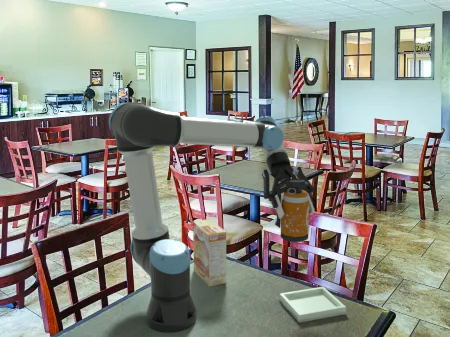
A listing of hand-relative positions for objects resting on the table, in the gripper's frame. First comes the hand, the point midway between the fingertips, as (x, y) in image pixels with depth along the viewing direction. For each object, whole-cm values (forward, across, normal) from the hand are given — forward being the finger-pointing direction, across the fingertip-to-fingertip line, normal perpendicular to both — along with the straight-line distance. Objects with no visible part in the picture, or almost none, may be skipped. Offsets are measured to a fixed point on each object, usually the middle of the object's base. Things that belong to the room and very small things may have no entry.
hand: (297, 214), depth 145 cm
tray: (+25, -3, -16) cm, 30 cm away
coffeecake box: (+3, +21, -39) cm, 44 cm away
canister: (+4, 0, -9) cm, 10 cm away
